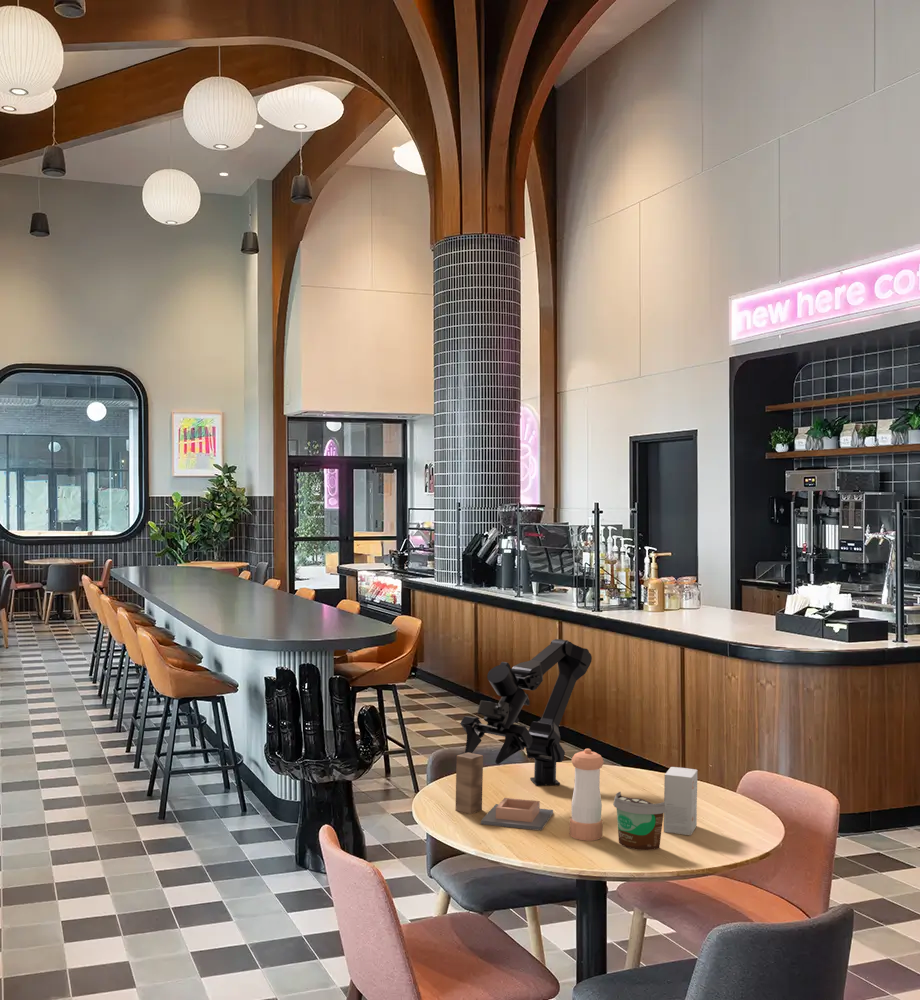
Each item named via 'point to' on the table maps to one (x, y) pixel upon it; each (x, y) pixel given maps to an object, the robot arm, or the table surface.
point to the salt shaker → (586, 797)
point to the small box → (680, 800)
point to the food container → (639, 822)
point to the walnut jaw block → (469, 782)
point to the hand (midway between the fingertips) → (481, 760)
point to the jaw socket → (518, 814)
